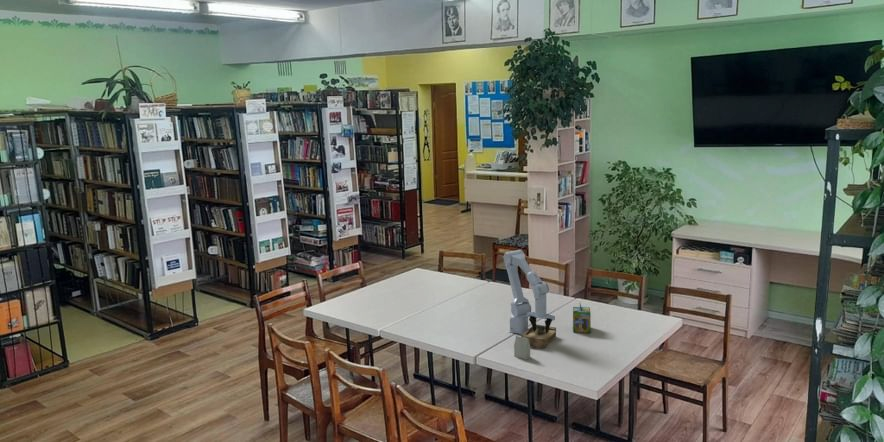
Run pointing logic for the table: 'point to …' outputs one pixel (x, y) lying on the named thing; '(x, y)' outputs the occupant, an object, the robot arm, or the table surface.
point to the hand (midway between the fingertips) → (540, 331)
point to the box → (538, 338)
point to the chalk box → (581, 319)
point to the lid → (542, 332)
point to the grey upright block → (522, 347)
